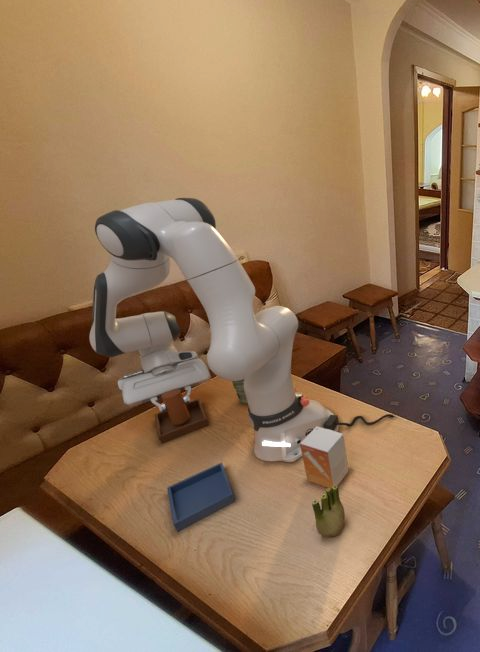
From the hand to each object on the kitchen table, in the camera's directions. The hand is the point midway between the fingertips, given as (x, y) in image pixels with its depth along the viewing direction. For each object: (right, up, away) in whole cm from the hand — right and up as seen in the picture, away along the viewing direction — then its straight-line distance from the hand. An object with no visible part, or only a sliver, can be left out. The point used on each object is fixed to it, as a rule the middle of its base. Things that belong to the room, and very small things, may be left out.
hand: (176, 406), depth 105 cm
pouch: (+14, -1, +15) cm, 21 cm away
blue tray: (+22, -16, -19) cm, 34 cm away
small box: (+50, -14, -13) cm, 54 cm away
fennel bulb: (+56, -20, -25) cm, 64 cm away
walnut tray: (-1, -6, +3) cm, 7 cm away
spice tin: (-1, -5, +3) cm, 5 cm away
